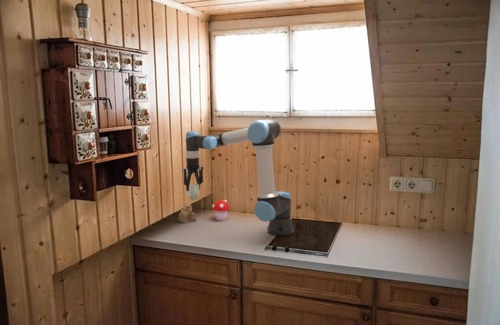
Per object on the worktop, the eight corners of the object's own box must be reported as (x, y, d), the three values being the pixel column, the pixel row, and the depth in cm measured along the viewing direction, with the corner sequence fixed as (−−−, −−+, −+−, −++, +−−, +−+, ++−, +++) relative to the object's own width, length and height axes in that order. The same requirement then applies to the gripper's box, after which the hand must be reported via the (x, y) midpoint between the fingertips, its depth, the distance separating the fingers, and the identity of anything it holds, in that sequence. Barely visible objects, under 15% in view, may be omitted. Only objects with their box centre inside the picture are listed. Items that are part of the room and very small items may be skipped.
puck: (194, 197, 264) (194, 184, 263) (199, 199, 260) (199, 186, 259) (187, 198, 261) (187, 185, 260) (191, 200, 257) (191, 187, 256)
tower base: (189, 218, 274) (189, 211, 273) (195, 221, 268) (195, 213, 267) (179, 220, 269) (178, 213, 268) (185, 223, 263) (184, 215, 262)
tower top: (188, 211, 271) (187, 204, 270) (192, 213, 267) (191, 205, 266) (180, 213, 268) (180, 205, 267) (184, 215, 264) (184, 207, 263)
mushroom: (217, 222, 265) (216, 203, 263) (209, 217, 274) (209, 199, 272) (232, 219, 270) (232, 201, 268) (224, 215, 279) (224, 197, 277)
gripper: (202, 155, 265) (202, 191, 269) (176, 158, 254) (176, 196, 258) (208, 156, 259) (209, 194, 263) (182, 159, 248) (183, 198, 252)
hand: (193, 195), depth 260 cm, fingers closed on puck, 5 cm apart
